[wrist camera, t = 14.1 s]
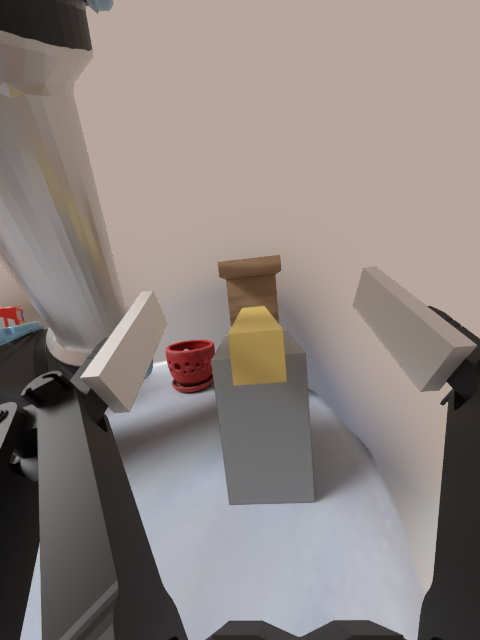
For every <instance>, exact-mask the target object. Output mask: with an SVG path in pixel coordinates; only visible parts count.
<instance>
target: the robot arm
mask: <svg viewBox="0 0 480 640" xmlns="http://www.w3.org/2000/svg"><path fill="white" fill-rule="evenodd" d="M86 6H90V7H91V8H92V9H93V10H94V11H95V12H96V13H97V14H98V12H99V11H109V10H110V9H111V8H112V6H113V0H0V262H1V263H2V265H3V266H4V267H5V269H6V270H7V271H8V273H9V274H10V275H11V277H12V278H13V279H14V281H15V282H16V283H17V285H18V286H19V287H20V289H21V290H22V291H23V293H24V294H25V295H26V296H27V298H28V299H29V301H30V302H31V303H32V305H33V306H34V307H35V309H36V310H37V311H38V312H39V314H40V315H41V317H42V318H43V319H44V320H45V322H46V323H47V325H48V326H49V329H45V330H44V326H43V325H42V324H41V322H38V321H36V322H31V323H25V324H21V325H16V326H11V327H7V328H2V329H0V640H20V636H21V631H22V626H23V621H24V617H25V612H26V607H27V602H28V597H29V592H30V587H31V582H32V577H33V572H34V567H35V562H36V557H37V552H38V547H39V542H40V570H41V616H42V640H188V638H187V635H186V633H185V630H184V627H183V624H182V621H181V618H180V615H179V613H178V610H177V608H176V606H175V604H174V602H173V600H172V598H171V597H170V595H169V594H168V593H167V591H166V590H165V588H164V586H163V584H162V581H161V578H160V575H159V572H158V569H157V566H156V563H155V560H154V557H153V554H152V551H151V548H150V545H149V542H148V539H147V536H146V533H145V530H144V527H143V524H142V521H141V518H140V514H139V511H138V508H137V505H136V502H135V499H134V496H133V493H132V490H131V487H130V484H129V481H128V478H127V475H126V472H125V469H124V466H123V463H122V460H121V457H120V454H119V451H118V448H117V445H116V442H115V439H114V436H113V433H112V429H111V426H110V423H109V420H108V418H107V416H106V415H105V414H104V413H105V411H106V409H107V407H109V408H110V409H111V410H112V411H113V412H114V413H121V412H130V410H131V408H132V405H133V403H134V401H135V398H136V396H137V394H138V391H139V389H140V387H141V384H142V382H143V380H144V379H145V378H147V377H148V376H149V375H150V374H151V372H152V368H153V356H154V354H155V352H156V349H157V347H158V344H159V342H160V340H161V337H162V335H163V333H164V330H165V328H166V326H167V321H166V319H165V316H164V314H163V312H162V309H161V307H160V305H159V303H158V301H157V298H156V296H155V293H154V291H144V292H142V293H141V294H140V295H139V297H138V298H137V299H136V301H135V302H134V303H133V305H132V306H131V308H128V307H127V306H125V305H124V301H123V296H122V292H121V288H120V284H119V280H118V276H117V272H116V268H115V263H114V260H113V255H112V251H111V247H110V243H109V239H108V235H107V231H106V227H105V222H104V218H103V214H102V210H101V206H100V202H99V198H98V194H97V190H96V185H95V181H94V177H93V173H92V169H91V165H90V161H89V156H88V152H87V149H86V144H85V140H84V136H83V132H82V128H81V123H80V119H79V115H78V111H77V107H76V103H75V99H74V95H73V87H74V83H75V81H76V80H77V78H78V77H79V76H80V74H81V73H82V72H83V70H84V69H85V67H86V66H87V65H88V63H89V62H90V61H91V60H92V58H93V51H92V46H91V40H90V34H89V28H88V22H87V17H86V11H85V10H86ZM353 307H354V308H355V309H356V310H357V312H358V313H359V314H360V315H361V317H362V318H363V319H364V320H365V322H366V323H367V324H368V325H369V327H370V328H371V329H372V331H373V332H374V333H375V335H376V336H377V337H378V338H379V340H380V341H381V342H382V343H383V345H384V346H385V347H386V348H387V350H388V351H389V352H390V354H391V355H392V356H393V357H394V359H395V360H396V361H397V362H398V364H399V365H400V366H401V368H402V369H403V370H404V371H405V373H406V374H407V375H408V376H409V378H410V379H411V380H412V381H413V383H414V384H415V385H416V387H417V388H418V389H419V390H420V391H421V392H423V391H437V390H440V389H441V388H442V386H443V385H444V384H445V383H446V382H448V384H449V385H450V386H451V387H452V388H453V389H452V390H451V391H450V392H449V393H448V395H447V396H446V397H445V398H444V399H443V400H442V401H441V403H440V404H441V405H444V404H445V403H446V402H448V412H447V424H446V435H445V447H444V459H443V471H442V482H441V494H440V506H439V517H438V529H437V540H436V552H435V564H434V575H433V582H432V585H431V587H430V589H429V591H428V592H427V594H426V595H425V597H424V600H423V603H422V608H421V614H420V622H419V631H418V640H480V339H479V338H478V337H477V336H475V335H474V334H472V333H471V332H470V331H468V330H467V329H466V328H464V327H463V326H462V327H461V325H460V324H459V323H458V322H456V321H455V320H453V319H452V318H451V317H450V316H448V315H447V314H446V313H444V312H442V311H440V310H438V309H436V308H434V307H431V306H426V305H425V304H424V303H422V302H421V301H420V300H418V299H417V298H416V297H415V296H413V295H412V294H411V293H409V292H408V291H407V290H405V289H404V288H403V287H402V286H400V285H399V284H398V283H396V282H395V281H394V280H392V279H391V278H390V277H389V276H387V275H386V274H385V273H384V272H382V271H381V270H379V269H378V268H377V267H369V268H363V270H362V274H361V278H360V281H359V285H358V288H357V292H356V296H355V300H354V303H353ZM206 640H406V639H404V637H403V635H401V634H399V633H397V632H394V631H392V630H390V629H387V628H385V627H383V626H381V625H378V624H376V623H374V622H371V621H369V620H333V621H331V622H330V623H328V624H326V625H324V626H322V627H320V628H318V629H316V630H314V631H312V632H310V633H308V634H306V635H304V636H302V637H297V636H295V635H292V634H290V633H288V632H286V631H284V630H282V629H279V628H277V627H275V626H273V625H271V624H268V623H266V622H264V621H228V622H227V623H226V624H225V625H224V626H223V627H221V628H220V629H219V630H218V631H216V632H215V633H213V634H212V635H211V636H210V637H208V638H207V639H206Z"/></svg>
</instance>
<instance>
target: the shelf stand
mask: <svg viewBox="0 0 480 640" xmlns="http://www.w3.org/2000/svg"><path fill="white" fill-rule="evenodd" d="M218 268H219V276H220V278H223V279H226V284H227V293H228V302H229V311H230V320H231V327H232V325H233V324H234V322H235V320H236V318H237V316H238V314H239V313H240V311H241V309H242V308H247V307H257V306H265V307H266V308H267V310H268V311H269V312H270V314H271V315H272V316H273V317H274V319H275V320H276V321H277V322H278V324H279V319H278V318H279V317H278V304H277V291H276V278H275V274H276V273H278V272H280V271H281V262H280V255H276V256H267V257H259V258H250V259H241V260H232V261H224V262H218Z"/></svg>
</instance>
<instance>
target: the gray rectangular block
mask: <svg viewBox="0 0 480 640" xmlns="http://www.w3.org/2000/svg"><path fill="white" fill-rule="evenodd" d="M283 338H284V351H285V365H286V378H287V382H279V383H264V384H250V385H236V386H234V385H233V377H232V368H231V359H230V350H229V341H228V336H225V337H224V339H223V341H222V342H221V344H220V346H219V348H218V349H217V351H216V353H215V355H214V356H213V358H212V360H211V364H212V372H213V379H214V387H215V395H216V403H217V411H218V419H219V427H220V435H221V443H222V451H223V458H224V466H225V474H226V482H227V490H228V498H229V505H236V504H271V503H306V502H315V500H314V483H313V466H312V449H311V432H310V416H309V399H308V382H307V366H306V353H305V351H304V350H303V349H302V348H301V347H300V346H299V344H298V343H297V342H296V341H295V340H294V339H293V337H292V336H291V335H290V334H289V333H288V332H287V331H283Z"/></svg>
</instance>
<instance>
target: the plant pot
mask: <svg viewBox="0 0 480 640" xmlns="http://www.w3.org/2000/svg"><path fill="white" fill-rule="evenodd" d="M184 349H189V351H183V350H184ZM214 355H215V348H214V343H213V342H212V341H208V340H190V341H183V342H179V343H175V344H172V345H169V346H168V347H167V348H166V357H167V363H168V367H169V370H170V373H171V375H172V376H173V378H174V380H173V381H172V386H173V387H174V388H175V389H176V390H178V391H180V392H195V391H199V390H201V389H204V388H206V387H207V386H209V385H210V384H211V383H212V381H213V374H212V364H211V360H212V358H213V356H214Z"/></svg>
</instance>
